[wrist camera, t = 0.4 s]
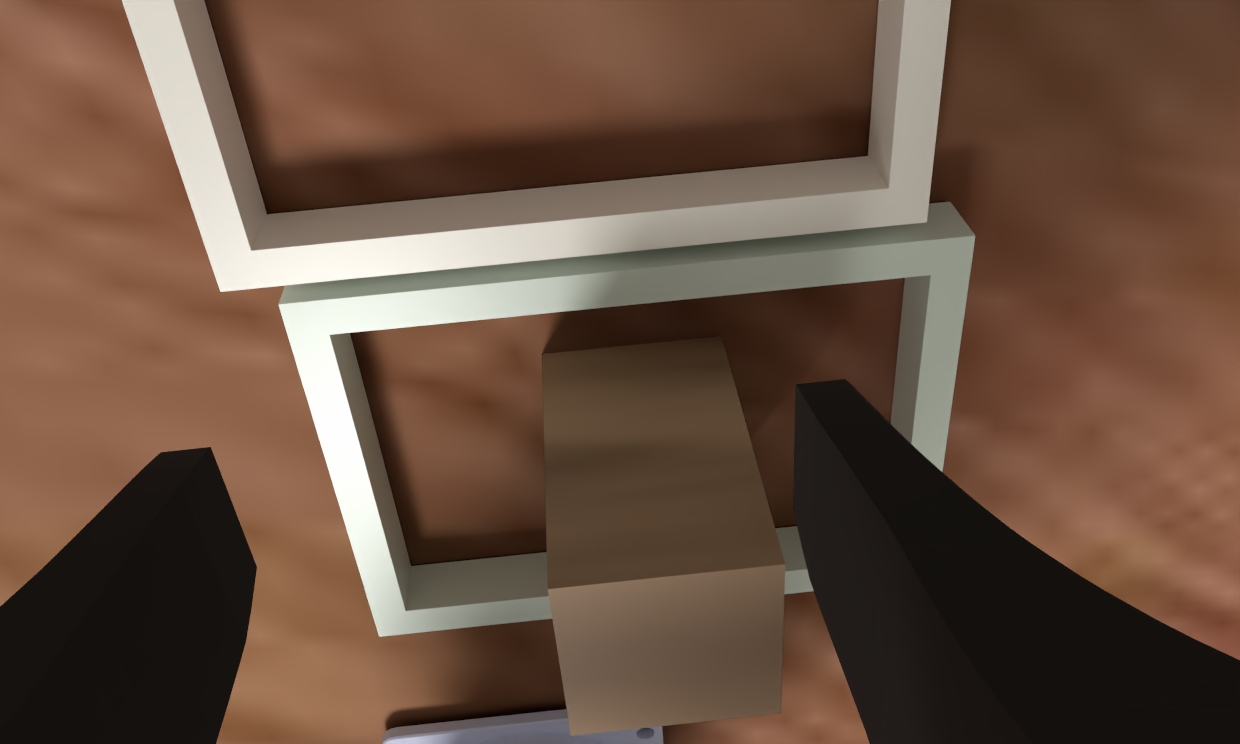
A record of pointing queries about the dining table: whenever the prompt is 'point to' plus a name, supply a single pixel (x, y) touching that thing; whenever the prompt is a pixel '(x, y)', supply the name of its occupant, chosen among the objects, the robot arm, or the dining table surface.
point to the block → (658, 540)
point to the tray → (540, 217)
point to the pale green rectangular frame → (341, 307)
